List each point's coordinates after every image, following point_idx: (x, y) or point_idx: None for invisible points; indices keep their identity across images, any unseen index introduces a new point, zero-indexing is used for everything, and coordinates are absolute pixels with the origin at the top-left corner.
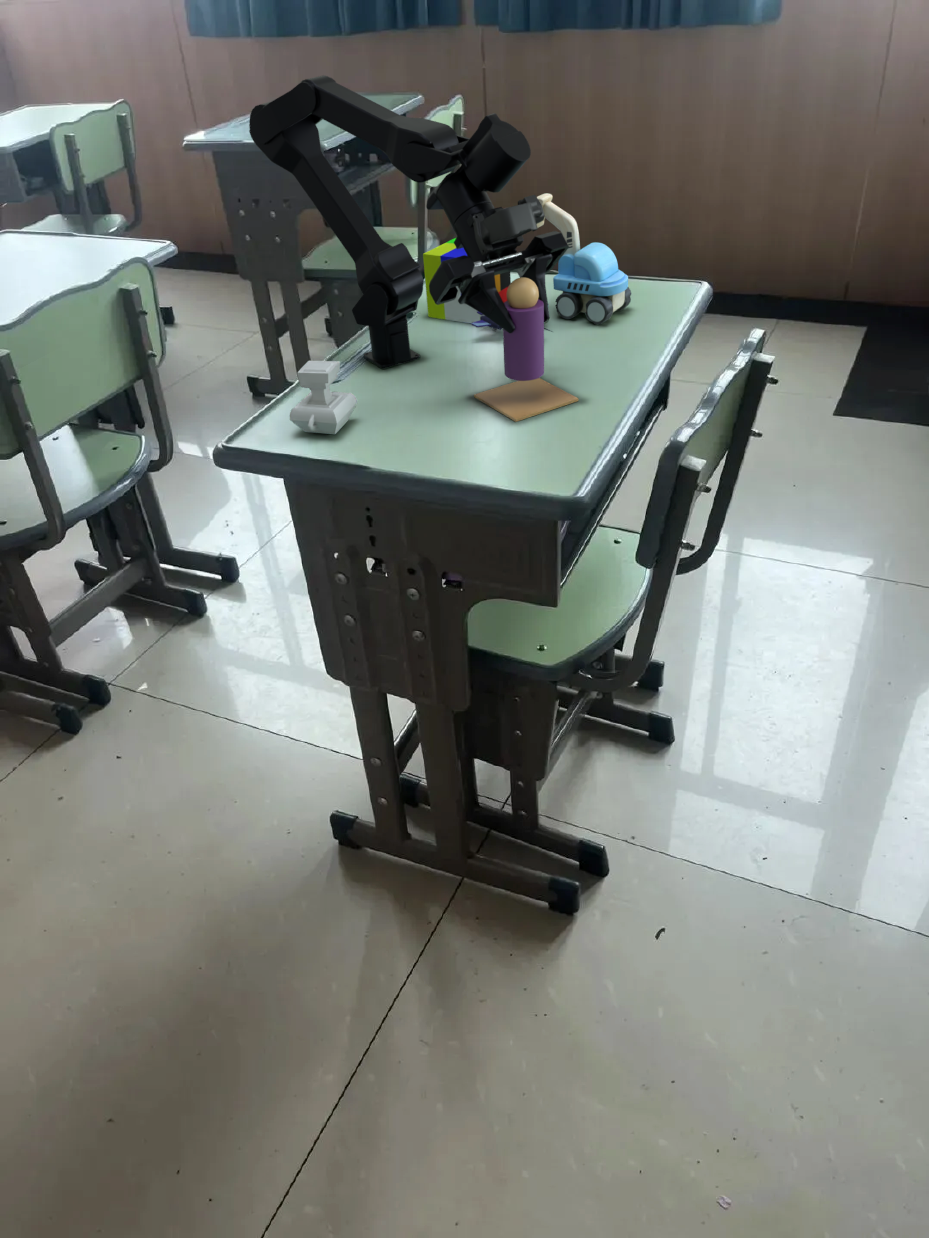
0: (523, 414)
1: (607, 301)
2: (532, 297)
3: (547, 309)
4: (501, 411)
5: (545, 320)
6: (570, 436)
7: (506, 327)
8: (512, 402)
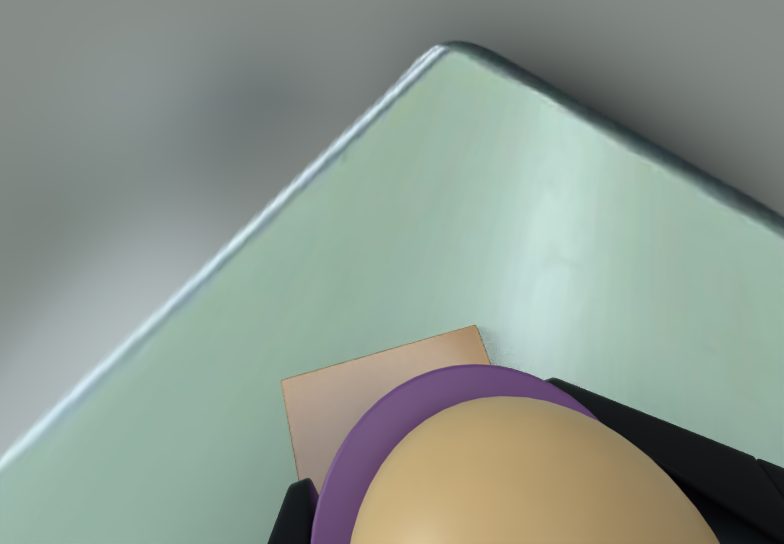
0: (450, 341)
1: None
2: (456, 406)
3: (280, 532)
4: None
5: (317, 494)
6: (379, 216)
7: None
8: None
